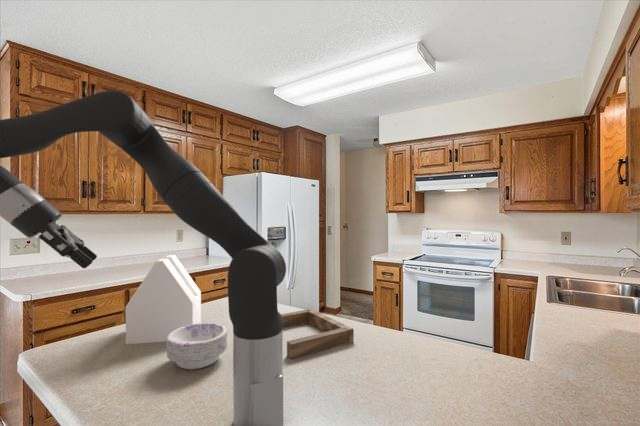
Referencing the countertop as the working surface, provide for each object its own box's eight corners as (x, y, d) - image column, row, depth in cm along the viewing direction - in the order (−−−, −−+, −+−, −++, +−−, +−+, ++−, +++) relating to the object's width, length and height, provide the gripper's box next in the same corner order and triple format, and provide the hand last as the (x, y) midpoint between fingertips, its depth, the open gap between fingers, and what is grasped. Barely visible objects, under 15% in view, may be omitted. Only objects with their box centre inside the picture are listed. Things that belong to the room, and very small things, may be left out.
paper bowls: (161, 379, 78) (161, 346, 78) (171, 353, 93) (171, 325, 93) (227, 370, 82) (227, 339, 82) (227, 346, 97) (227, 320, 97)
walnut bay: (353, 341, 100) (353, 328, 100) (291, 359, 89) (291, 344, 89) (311, 319, 121) (311, 308, 121) (256, 331, 110) (256, 319, 110)
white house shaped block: (125, 344, 99) (125, 262, 99) (143, 327, 114) (142, 255, 114) (192, 339, 103) (192, 260, 103) (201, 323, 118) (200, 254, 118)
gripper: (34, 197, 64) (103, 254, 69) (51, 199, 76) (108, 247, 82) (-4, 224, 61) (71, 281, 67) (20, 221, 74) (81, 269, 79)
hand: (91, 262), depth 74 cm, fingers open, 8 cm apart
